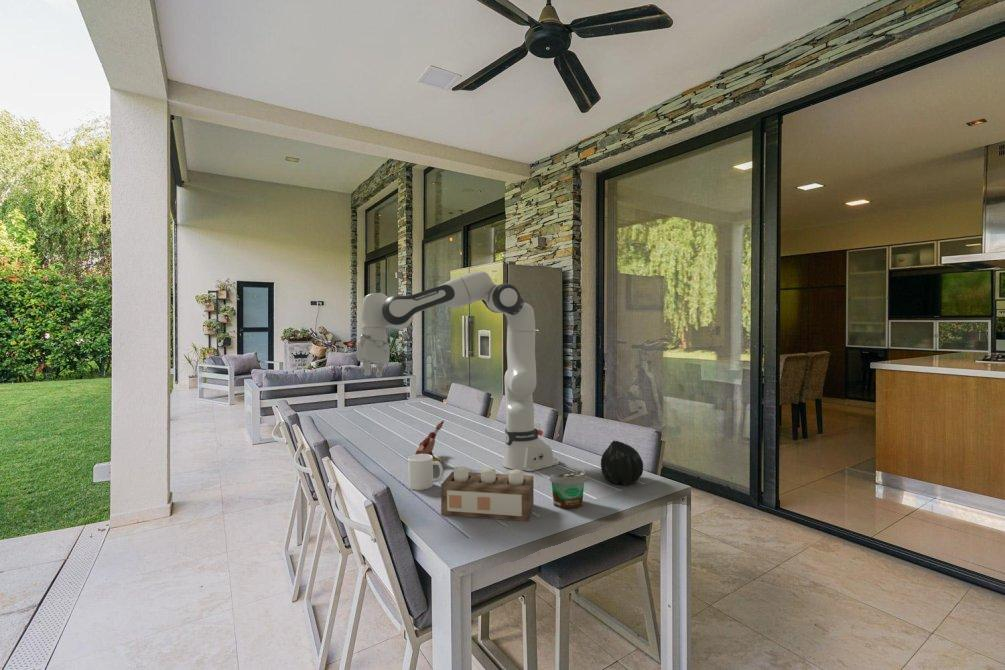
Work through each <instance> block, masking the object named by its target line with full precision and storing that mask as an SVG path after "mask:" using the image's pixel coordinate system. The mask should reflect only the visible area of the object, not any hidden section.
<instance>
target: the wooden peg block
mask: <svg viewBox="0 0 1005 670" xmlns="http://www.w3.org/2000/svg"><path fill="white" fill-rule="evenodd" d="M523 475H524V485H510V484H509V473H508V474H506V473H496V483H495V484H493V483H481V472H472V471H468V482H459V481H454V470H453V471H452V472H450V474H449V475H448V476H446V478H445V479H444V480H443V482H442V483H441V484H440V508H441V509H440V510H441V512H440V513H441V516H453V517H455V516H456V517H468V518H482V519H495V520H497V519H498V520H508V521H510V520H511V521H522V522H530V518H531V514H532V511H533V507H534V491H535V489H534V486H535V485H534V475H528V474H527V475H526V474H523ZM447 490H454V491H470V492H486V493H501V494H517V495H522V516H512V515H498V514H483V513H469V512H455V511H447Z"/></svg>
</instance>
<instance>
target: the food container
mask: <svg viewBox="0 0 1005 670" xmlns="http://www.w3.org/2000/svg"><path fill="white" fill-rule="evenodd" d="M548 481H550V482H551V490H552V500H553V506H554V507H555V508H558V509H563V510H576V509H579V508H581V507H582V506H583V500H584V490H585V489H584V488H585V482H586V481H587V474H586V471H585V470H584V469H583V468H582V469H581V471H578V472H565V473H563V474H560V475H555V474H552V473H551V474H550V476H549V480H548Z"/></svg>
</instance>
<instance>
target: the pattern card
mask: <svg viewBox="0 0 1005 670" xmlns="http://www.w3.org/2000/svg"><path fill="white" fill-rule="evenodd" d="M447 511H455V512H469V513H483V514H498V515H512V516H522V495H517V494H501V493H486V492H470V491H454V490H447Z"/></svg>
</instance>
